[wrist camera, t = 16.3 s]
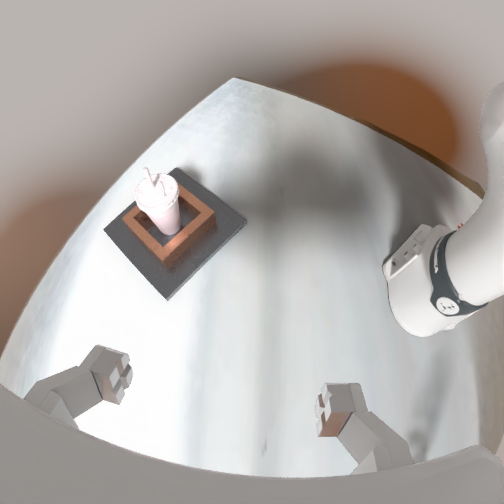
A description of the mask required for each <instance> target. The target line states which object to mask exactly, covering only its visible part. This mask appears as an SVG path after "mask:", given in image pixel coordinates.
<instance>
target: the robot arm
mask: <svg viewBox="0 0 504 504" xmlns="http://www.w3.org/2000/svg"><path fill="white" fill-rule="evenodd" d="M480 136H481V142H482V146H483V149H484V152H485V156H486V161H487V170H488V181H487V188H486V192H485V196H484V198H483V201H482V203H481V205H480V206H479V208H478V209H477V210H476V212H475V213H474V214H473V215H472V216H471V217H470V218H469V220H468V221H467V222H466V223H465V224H464V225H463V224H462V223H461V227H460V226H457V227H458V228H459V229H458V230H456V231H453V230H451V229H450V228H448V227H446V226H444V225H437V226H435V227H434V228H433V227H431V226H428V225H425V224H421V225H420V226H419V227H418V228H417V229H416V230H415V231H414V232H413V233H412V234H411V236H410V237H409V238H408V239H407V240H406V241H405V242H404V243H403V244H402V245H401V247H400V248H399V249H398V250H397V251H396V252H395V253H394V254H393V255H392V256H391V257H390V258H389V259H388V260H387V261H386V262H385V263H384V265H383V272H384V275H385V277H386V280H387V282H388V293H389V302H390V306H391V309H392V312H393V314H394V316H395V318H396V320H397V321H398V323H399V324H400V325H401V326H402V327H403V328H404V329H405V330H406V331H407V332H409V333H410V334H412V335H415V336H418V337H428V336H431V335H434V334H435V333H437V332H439V331H441V330H451V329H453V328H454V327H455V326H456V323H457V322H459V321H461V320H463V319H465V318H466V317H468V316H470V315H472V314H473V313H474V312H477V311H479V310H480V309H482V308H483V307H485V306H486V305H487V304H488V303H489V302H490V301H492V300H494V299H496V298H498V297H500V296H502V295H504V82H501V83H500V84H498V85H497V86H496V87H494V88H493V89H492V90H491V91H490V93H489V94H488V95H487V97H486V99H485V101H484V104H483V106H482V110H481V115H480ZM392 263H393V264H394V266H393V264H392ZM129 361H130V359H129V355H128V354H126V353H123V352H120V351H117V350H114V349H110V348H107V347H104V346H101V345H96V346H95V347H94V348H93V349H92V350H91V352H90V353H89V354H88V356H87V357H86V358H85V359H84V361H83V362H82V363H81V365H80V366H79V367H78V366H75V367H73V368H70V369H68V370H65V371H63V372H60V373H58V374H55V375H53V376H50V377H48V378H45V379H43V380H40V381H38V382H36V383H35V385H34V386H33V387H32V388H31V390H30V391H29V392H28V394H27V395H26V396H25V397H24V399H22V398H20V397H19V396H17V395H16V394H14V393H13V392H11V391H10V390H8V389H7V388H5V387H4V386H3V385H1V384H0V504H504V466H503V464H502V462H501V460H500V459H499V458H498V457H497V456H496V455H495V454H493V453H492V452H490V451H489V450H487V449H486V448H484V447H482V446H480V445H474V446H471V447H468V448H465V449H463V450H460V451H457V452H454V453H451V454H448V455H445V456H442V457H439V458H435V459H432V460H428V461H424V462H421V463H417V464H413V460H412V457H411V454H410V451H409V447H408V444H407V442H406V441H405V440H404V439H403V438H402V437H400V436H399V435H398V434H397V433H396V432H395V431H393V430H392V429H391V428H390V427H389V426H387V425H386V424H385V423H384V422H383V421H382V420H380V419H379V418H378V417H377V416H376V415H375V414H374V413H372V412H368V409H367V406H366V403H365V399H364V396H363V392H362V389H361V386H360V384H359V383H324V384H323V386H322V388H321V392H322V393H321V394H320V395H318V398H317V400H316V405H315V414H316V417H317V418H318V419H319V420H318V422H317V433H318V437H337V438H338V439H339V441H340V442H341V443H342V444H343V446H344V447H345V448H346V449H347V450H348V452H349V453H350V454H351V455H352V457H353V458H354V459H355V460H356V461H357V463H358V464H359V465H358V466H357V468H356V469H355V470H354V471H353V472H352V473H351V474H350V475H345V476H333V477H313V478H283V477H263V476H250V475H240V474H232V473H224V472H218V471H212V470H206V469H200V468H195V467H190V466H185V465H181V464H177V463H172V462H168V461H165V460H161V459H157V458H154V457H150V456H147V455H143V454H140V453H137V452H134V451H131V450H128V449H125V448H122V447H119V446H117V445H114V444H111V443H109V442H106V441H104V440H101V439H99V438H96V437H94V436H92V435H89V434H87V433H85V432H83V431H80V430H79V428H78V426H77V424H76V422H75V421H74V418H75V417H77V416H79V415H80V414H82V413H83V412H85V411H87V410H88V409H90V408H91V407H93V406H95V405H96V404H98V403H99V402H101V401H102V399H103V400H106V401H109V402H112V403H115V404H118V405H119V404H120V402H121V400H122V399H123V397H124V395H125V393H124V389H126V388H128V387H129V385H130V383H131V380H132V368H131V366H130V365H129V364H128V362H129Z"/></svg>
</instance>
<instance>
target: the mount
mask: <svg viewBox="0 0 504 504" xmlns="http://www.w3.org/2000/svg"><path fill="white" fill-rule="evenodd" d="M167 175H170V176H172V177H173V178H174V179H175V180H176V182H177V185H178V187H179V195H178V204H179V213H180V221H181V226H180V229H179V230H178V231H177V232H176V233H175V234H172V235H165V234H163V233H162V232H161V231H160V230H159V228H158V227H157V226H156V225H155V224H154V222H153V221H152V220H151V219H150V217H149V216H148V215H147V214H146V213H145V212H144V211H142V210H141V209H140V208H139V207H138V205H137V202H136V200H135V201H134V202H133V203H132V204H131V205H130V206H129V207H127V208H126V209H125V210H124V211H123V212H122V213H121V214H120V215H118V216H117V217H116V218H115V219H114V220H113V221H112V222H111V223H110V224H109V225H108V226H107V227H105V228H104V229H103V230H104V231H105V232H106V233H107V235H108V236H109V237H110V238H111V239H112V241H113V242H114V243H115V244H116V245H117V246H118V248H119V249H120V250H121V251H122V252H123V253H124V254H125V256H126V257H127V258H128V259H129V260H130V261H131V262H132V264H133V265H134V266H135V267H136V268H137V269H138V270H139V271H140V272H141V273H142V275H143V276H144V277H145V278H146V279H147V280H148V281H149V282H150V283H151V284H152V285H153V286H154V287H155V288H156V289H157V290H158V292H159V293H160V294H161V295H162V296H163V297H164V298H165V299H166V300H167V301H168V300H169V299H170V298H171V297H172V296H173V295H174V294H175V293H176V292H177V291H178V290H179V289H180V288H181V287H182V286H183V285H184V284H185V283H186V282H187V281H188V280H189V279H190V278H191V277H192V276H193V275H194V274H195V273H196V272H197V271H198V270H199V269H200V268H201V267H202V266H203V265H204V264H205V263H206V262H207V261H208V260H209V259H210V258H211V257H212V256H213V255H214V254H216V253H217V252H218V251H219V250H220V249H221V248H222V247H223V246H224V245H225V244H226V243H227V242H228V241H229V240H230V239H231V238H232V237H233V236H234V235H235V234H236V233H237V232H238V231H239V230H240V229H241V228H242V227H243V226H244V225H245V224H246V221H247V220H245V219H244V218H243V217H241V216H240V215H239V214H237V213H236V212H235V211H233V210H232V209H231V208H230V207H228V206H227V205H226V204H224V203H223V202H222V201H220V200H219V199H218V198H216V197H215V196H214V195H212V194H211V193H210V192H208V191H207V190H206V189H204V188H203V187H202V186H200V185H199V184H198V183H196V182H195V181H194V180H192V179H191V178H190V177H188V176H187V175H186V174H184V173H183V172H182V171H180V170H179V169H178V168H175V169H173V170H172V171H171V172H170V173H168V174H167Z"/></svg>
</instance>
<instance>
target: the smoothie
mask: <svg viewBox="0 0 504 504" xmlns="http://www.w3.org/2000/svg"><path fill="white" fill-rule="evenodd" d="M143 170H144V172H145V175H146V177H147V178H145V179H144V180H143V181H142V182H141V183H140V184H139V185H138V187H137V189H136V191H135V200H136V202H137V205H138V207H139V208H140V209H141V210H142V211H144V212H145V213H146V214H147V215H148V216H149V217H150V219H151V220H152V221H153V222H154V224H155V225H156V226H157V227H158V228H159V230H160V231H161V232H162V233H163V234H165V235H172V234H175V233H176V232H177V231H178V230H179V229H180V226H181V221H180V213H179V204H178V195H179V187H178V185H177V182H176V180H175V179H174V178H173V177H172V176H170V175H167V174H154V175H151V176H150V173H149V171H148V168H147V167H144V168H143Z"/></svg>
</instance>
